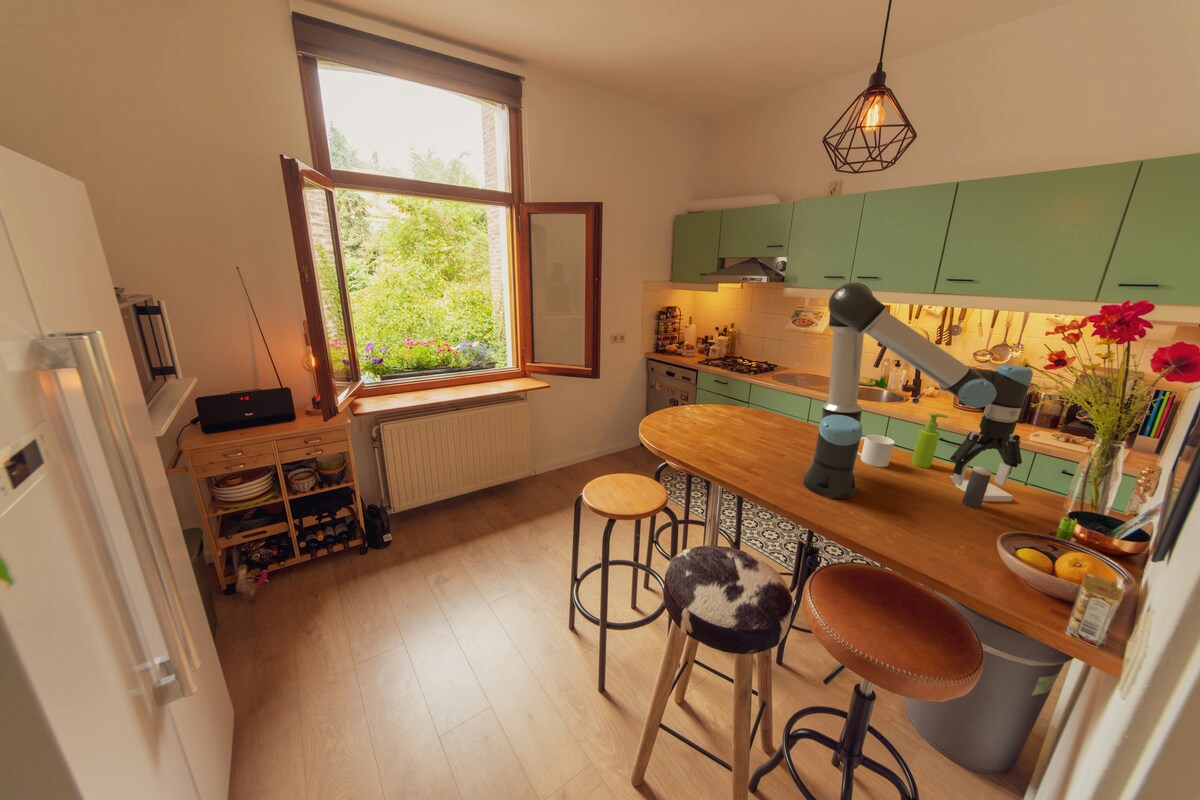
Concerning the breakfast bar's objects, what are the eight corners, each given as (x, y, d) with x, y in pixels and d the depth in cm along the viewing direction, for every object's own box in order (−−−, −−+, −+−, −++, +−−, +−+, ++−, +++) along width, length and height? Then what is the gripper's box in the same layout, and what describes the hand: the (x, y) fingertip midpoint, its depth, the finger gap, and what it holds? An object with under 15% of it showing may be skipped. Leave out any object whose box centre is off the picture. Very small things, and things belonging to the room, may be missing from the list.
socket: (980, 501, 135) (993, 463, 131) (941, 477, 150) (951, 443, 146) (1011, 501, 136) (1024, 464, 132) (968, 477, 151) (979, 443, 147)
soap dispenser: (936, 469, 157) (951, 417, 151) (915, 467, 158) (929, 415, 152) (928, 462, 162) (942, 412, 156) (908, 460, 163) (921, 410, 157)
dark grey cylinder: (970, 508, 131) (982, 473, 127) (958, 500, 135) (969, 466, 131) (984, 508, 131) (996, 473, 127) (971, 500, 135) (983, 466, 132)
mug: (893, 464, 159) (899, 441, 157) (880, 469, 155) (886, 445, 152) (860, 452, 169) (865, 430, 166) (847, 457, 165) (852, 434, 162)
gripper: (969, 422, 120) (948, 489, 127) (1054, 423, 121) (1029, 490, 128) (947, 413, 127) (929, 477, 134) (1027, 414, 129) (1005, 478, 135)
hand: (977, 483), depth 131 cm, fingers open, 13 cm apart
